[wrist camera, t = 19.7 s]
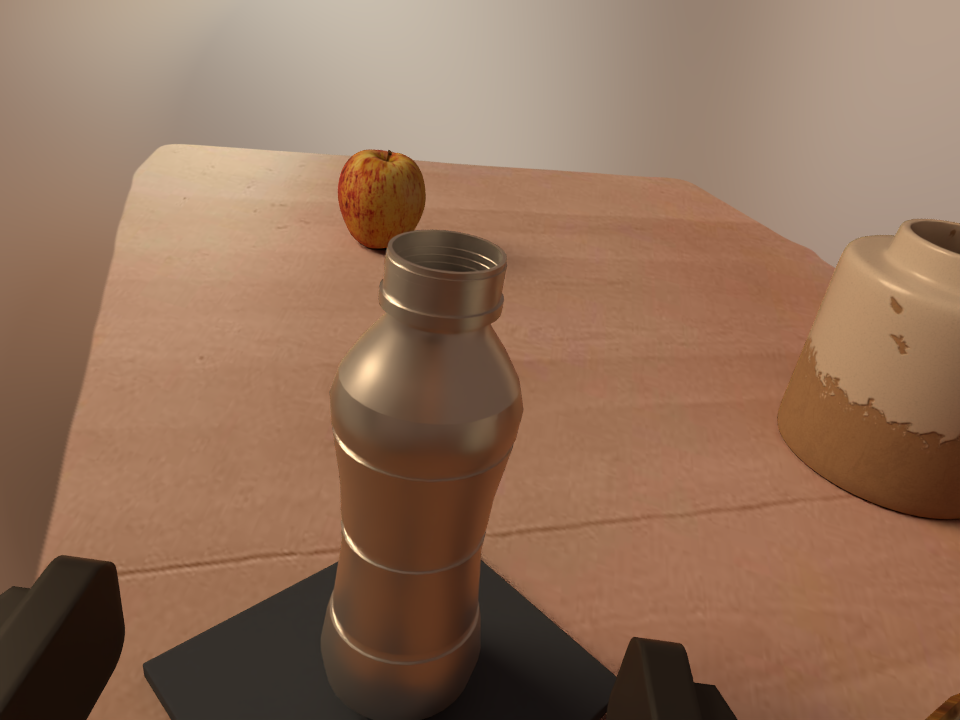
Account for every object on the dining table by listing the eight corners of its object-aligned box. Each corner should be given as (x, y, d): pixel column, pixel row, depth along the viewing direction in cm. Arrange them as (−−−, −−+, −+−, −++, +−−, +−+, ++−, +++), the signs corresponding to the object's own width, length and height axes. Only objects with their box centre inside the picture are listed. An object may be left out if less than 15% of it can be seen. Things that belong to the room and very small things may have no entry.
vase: (733, 410, 58) (809, 205, 49) (862, 386, 64) (947, 202, 56) (901, 543, 46) (1036, 305, 38) (1036, 497, 53) (1176, 286, 45)
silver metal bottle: (492, 727, 31) (593, 294, 21) (329, 765, 28) (356, 298, 18) (449, 607, 36) (514, 216, 26) (308, 631, 33) (321, 211, 24)
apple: (378, 222, 84) (384, 133, 79) (439, 247, 80) (449, 155, 75) (318, 238, 77) (321, 142, 72) (381, 266, 73) (389, 167, 68)
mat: (329, 978, 23) (330, 966, 23) (143, 675, 31) (141, 663, 31) (623, 696, 34) (627, 685, 33) (426, 524, 42) (428, 513, 41)
